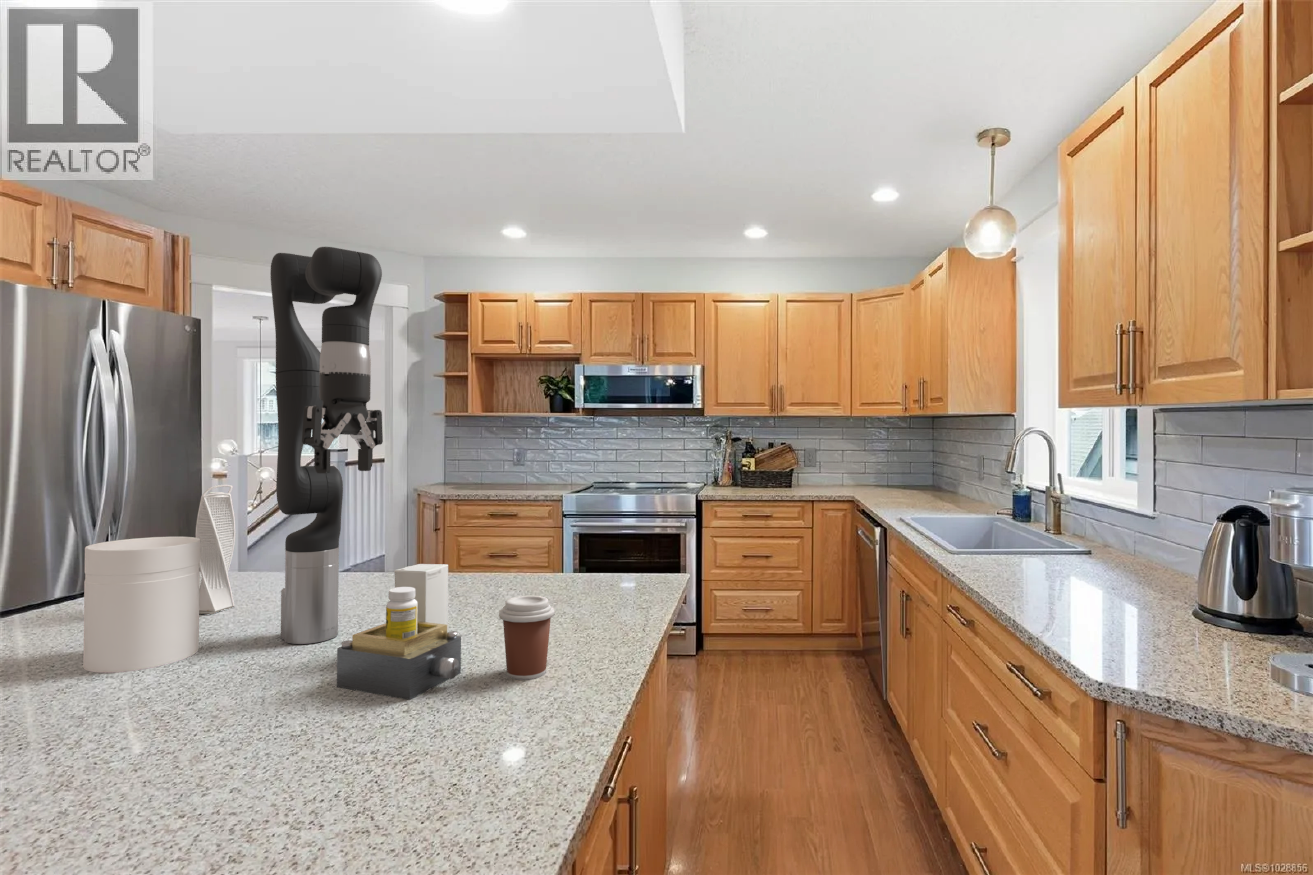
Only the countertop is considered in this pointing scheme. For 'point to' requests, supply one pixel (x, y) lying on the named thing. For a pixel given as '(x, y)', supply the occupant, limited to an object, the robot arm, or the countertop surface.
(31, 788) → the countertop surface
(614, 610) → the countertop surface
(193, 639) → the canister
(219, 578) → the skyscraper
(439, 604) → the skincare box
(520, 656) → the coffee cup
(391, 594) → the supplement bottle
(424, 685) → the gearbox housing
